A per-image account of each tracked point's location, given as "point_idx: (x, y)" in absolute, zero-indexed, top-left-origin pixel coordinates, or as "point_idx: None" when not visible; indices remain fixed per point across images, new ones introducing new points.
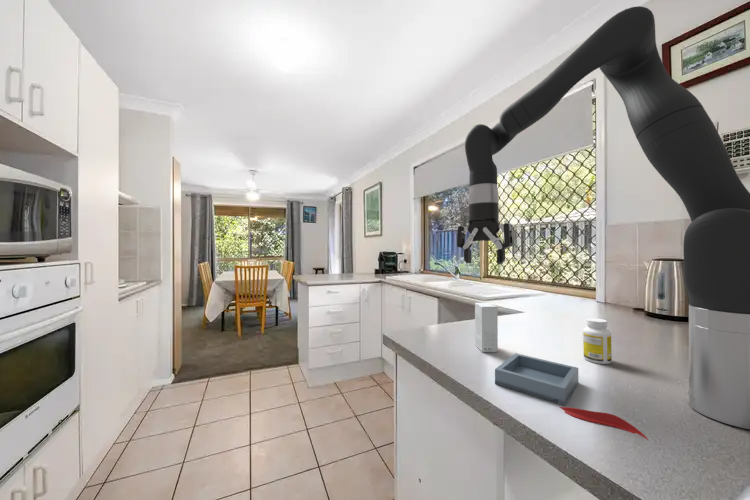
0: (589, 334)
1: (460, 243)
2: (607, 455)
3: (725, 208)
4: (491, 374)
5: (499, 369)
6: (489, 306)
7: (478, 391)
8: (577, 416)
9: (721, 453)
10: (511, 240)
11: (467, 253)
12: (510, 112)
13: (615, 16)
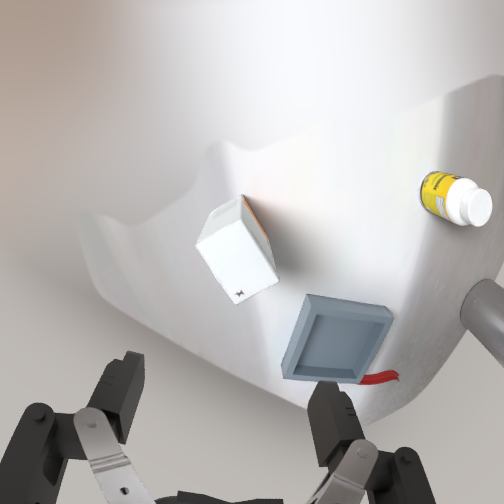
0: (450, 219)
1: (64, 463)
2: (362, 411)
3: None
4: (272, 341)
5: (289, 377)
6: (256, 292)
7: (264, 387)
8: (359, 384)
9: (433, 369)
10: (416, 480)
11: (127, 425)
12: None
13: None
